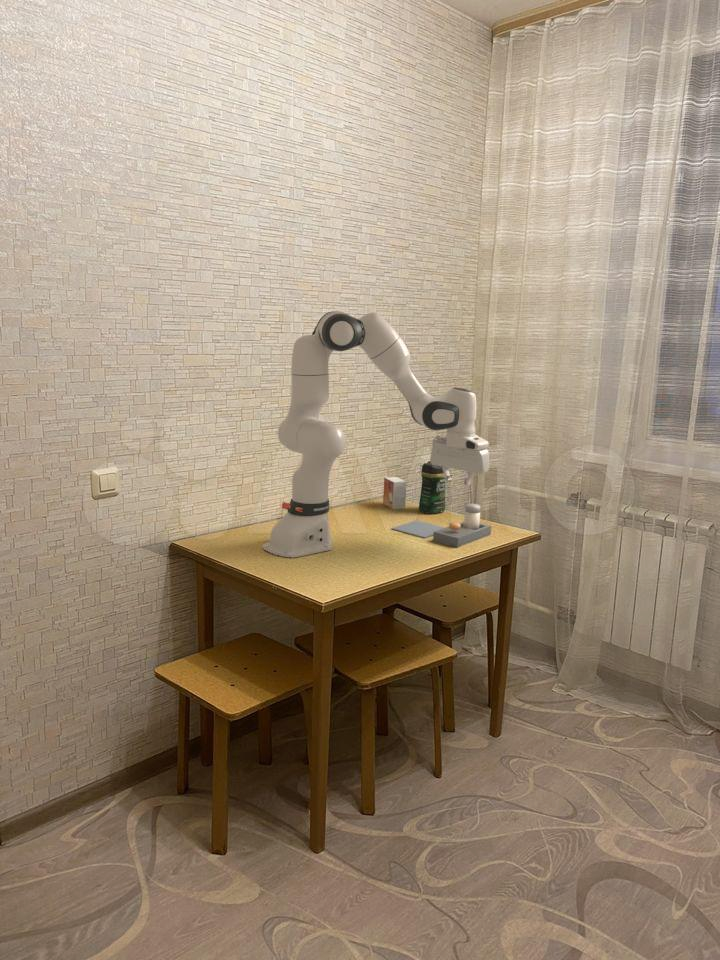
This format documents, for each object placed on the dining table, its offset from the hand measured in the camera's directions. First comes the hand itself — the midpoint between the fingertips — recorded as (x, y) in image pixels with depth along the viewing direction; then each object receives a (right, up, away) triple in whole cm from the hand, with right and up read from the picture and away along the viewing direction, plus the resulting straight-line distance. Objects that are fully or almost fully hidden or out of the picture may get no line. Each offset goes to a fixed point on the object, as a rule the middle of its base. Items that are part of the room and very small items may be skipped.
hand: (457, 482), depth 235 cm
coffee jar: (-4, -11, +39) cm, 40 cm away
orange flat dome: (0, -15, +3) cm, 15 cm away
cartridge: (+6, -17, +12) cm, 22 cm away
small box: (-18, -9, +44) cm, 48 cm away
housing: (+3, -18, +8) cm, 20 cm away
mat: (-11, -16, +15) cm, 24 cm away
